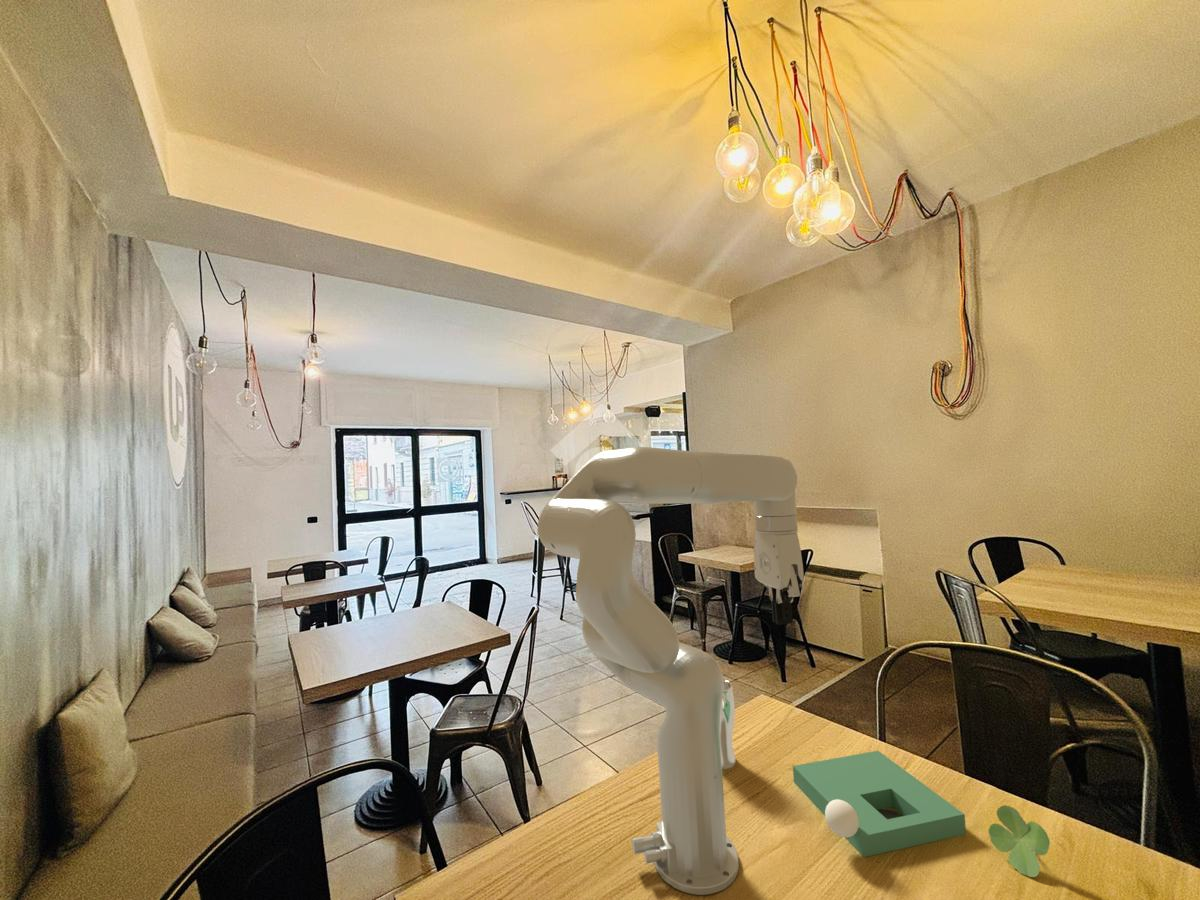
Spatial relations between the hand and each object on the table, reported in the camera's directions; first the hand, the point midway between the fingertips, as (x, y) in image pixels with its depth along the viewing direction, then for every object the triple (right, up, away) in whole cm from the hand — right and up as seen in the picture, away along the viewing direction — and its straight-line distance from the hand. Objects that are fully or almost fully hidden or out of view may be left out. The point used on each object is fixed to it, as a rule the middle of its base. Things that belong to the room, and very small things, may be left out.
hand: (782, 622), depth 91 cm
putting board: (+12, -28, -9) cm, 32 cm away
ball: (+3, -24, -17) cm, 29 cm away
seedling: (+30, -27, -18) cm, 45 cm away
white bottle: (-10, -30, +7) cm, 33 cm away
